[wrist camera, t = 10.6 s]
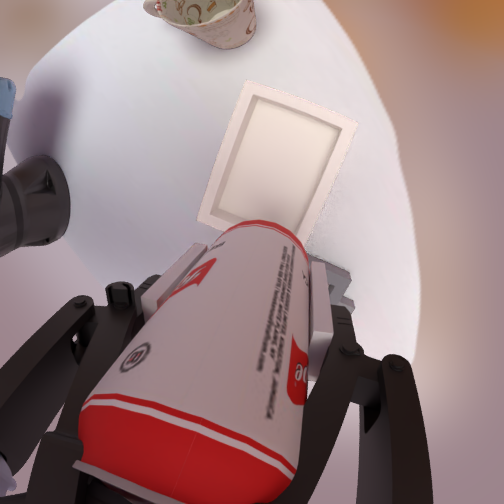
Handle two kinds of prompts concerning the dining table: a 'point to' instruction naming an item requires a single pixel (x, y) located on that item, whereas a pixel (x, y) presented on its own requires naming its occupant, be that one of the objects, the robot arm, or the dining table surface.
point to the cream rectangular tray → (275, 162)
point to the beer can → (210, 381)
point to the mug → (209, 19)
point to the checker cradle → (336, 284)
